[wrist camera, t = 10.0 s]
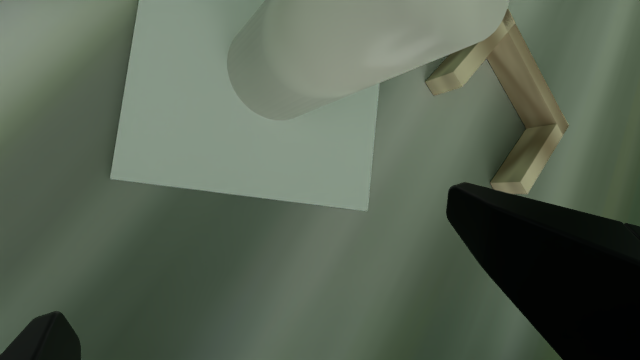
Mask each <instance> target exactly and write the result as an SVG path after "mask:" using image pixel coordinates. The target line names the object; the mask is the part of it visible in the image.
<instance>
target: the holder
mask: <svg viewBox="0 0 640 360" xmlns="http://www.w3.org/2000/svg"><path fill="white" fill-rule="evenodd" d="M486 58H487V60H488V62H489V63H490V65H491V67H492V69H493V70H494V72H495V74H496V76H497V78H498V79H499V81H500V83H501V85H502V86H503V88H504V90H505V92H506V93H507V95H508V97H509V99H510V101H511V102H512V104H513V106H514V108H515V109H516V111H517V113H518V115H519V116H520V118H521V120H522V122H523V123H524V125H525V127H526V130H525V131H524V133H523V134H522V136H521V137H520V139H519V140H518V142H517V143H516V145H515V146H514V148H513V149H512V151H511V152H510V154H509V155H508V157H507V158H506V160H505V161H504V163H503V164H502V166H501V167H500V169H499V170H498V172H497V173H496V175H495V176H494V178H493V179H492V181H491V182H490V184H491V186H492V187H493V189H494V190H498V191H502V192H506V193H510V194H528V192H529V191H530V189H531V187H532V186H533V184H534V182H535V181H536V179H537V177H538V176H539V174H540V173H541V171H542V169H543V168H544V166H545V164H546V163H547V161H548V159H549V158H550V156H551V154H552V153H553V151H554V149H555V148H556V146H557V144H558V143H559V141H560V139H561V138H562V136H563V134H564V133H565V131H566V130H567V128H568V126H569V125H568V123H567V121H566V119H565V117H564V115H563V114H562V112H561V110H560V108H559V106H558V105H557V103H556V101H555V99H554V97H553V95H552V93H551V91H550V89H549V87H548V85H547V83H546V81H545V80H544V78H543V76H542V74H541V72H540V70H539V68H538V66H537V64H536V62H535V60H534V58H533V56H532V55H531V53H530V51H529V49H528V47H527V45H526V43H525V41H524V39H523V37H522V35H521V33H520V31H519V30H518V28H517V26H516V24H515V21H514V19H513V17H512V15H511V13H510V11H509V9H507V11H506V13H505V16H504V18H503V20H502V22H501V24H500V25H499V26H498V28H497V29H496V31H495V32H494V33H493V34H491V35H490V36H489V37H488V38H486V39H485V40H483V41H481V42H479V43H476V44H474V45H471V46H469V47H466V48H464V49H461V50H459V51H457V52H454V53H452V54H450V55H449V56H448V57H447V58H446V59H445V60H444V61H443V62H442V64H441V65H440V66H439V67H438V68H437V69H436V70H435V71H434V72H433V74H432V75H431V76H430V77H429V78H428V79H427V80H426V81H425V83H426V84H427V86H428V87H429V89H430V90H431V92H432V94H433V95H438V94H441V93H444V92H448V91H451V90H454V89H457V88H461V87H463V86H464V85H465V83H466V82H467V81H468V80H469V79H470V77H471V76H472V75H473V74H474V72H475V71H476V70H477V69H478V68H479V66H480V65H481V64H482V63H483V62H484V60H485V59H486Z"/></svg>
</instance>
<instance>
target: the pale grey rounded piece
mask: <svg viewBox="0 0 640 360" xmlns="http://www.w3.org/2000/svg"><path fill="white" fill-rule="evenodd" d="M508 4H509V0H265V1H264V2H263V4H262V5H261V6H260V7H259V8H258V10H257V11H256V12H255V13H254V14H253V16H252V17H251V18H250V19H249V20H248V22H247V23H246V24H245V25H244V27H243V28H242V29H241V30H240V31H239V33H238V34H237V35H236V36H235V38H234V39H233V41H232V43H231V45H230V48H229V52H228V58H227V69H228V75H229V78H230V82H231V84H232V87H233V89H234V91H235V92H236V94H237V96H238V97H239V98H240V100H241V101H242V102H243V103H244V104H245V105H246V106H247V107H248V108H249V109H251V110H252V111H253V112H255V113H256V114H258V115H260V116H262V117H265V118H268V119H272V120H289V119H293V118H295V117H298V116H300V115H303V114H305V113H307V112H310V111H312V110H315V109H317V108H320V107H322V106H325V105H327V104H329V103H332V102H334V101H337V100H339V99H342V98H344V97H347V96H349V95H351V94H354V93H356V92H359V91H361V90H364V89H366V88H369V87H371V86H373V85H376V84H378V83H381V82H383V81H386V80H388V79H391V78H393V77H395V76H398V75H400V74H403V73H405V72H408V71H410V70H413V69H415V68H417V67H420V66H422V65H425V64H427V63H430V62H432V61H435V60H437V59H439V58H442V57H444V56H447V55H449V54H452V53H454V52H457V51H459V50H461V49H464V48H466V47H469V46H471V45H474V44H476V43H479V42H481V41H483V40H485V39H486V38H488V37H489V36H490V35H491V34H493V33H494V32H495V31H496V29H497V28H498V26H499V25H500V24H501V22H502V20H503V18H504V16H505V13H506V11H507V8H508Z"/></svg>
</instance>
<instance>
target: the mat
mask: <svg viewBox="0 0 640 360" xmlns="http://www.w3.org/2000/svg"><path fill="white" fill-rule="evenodd" d="M264 1H265V0H139V3H138V9H137V15H136V21H135V27H134V34H133V40H132V46H131V52H130V58H129V64H128V71H127V77H126V83H125V89H124V95H123V101H122V108H121V114H120V120H119V126H118V132H117V138H116V145H115V151H114V157H113V163H112V169H111V176H110V179H113V180H121V181H129V182H137V183H145V184H153V185H161V186H169V187H177V188H185V189H193V190H201V191H209V192H217V193H225V194H233V195H240V196H248V197H256V198H264V199H272V200H280V201H288V202H296V203H304V204H312V205H320V206H328V207H336V208H344V209H352V210H360V211H368V203H369V192H370V181H371V170H372V160H373V149H374V138H375V127H376V117H377V106H378V95H379V84H380V83H378V84H376V85H373V86H371V87H369V88H366V89H364V90H361V91H359V92H356V93H354V94H351V95H349V96H347V97H344V98H342V99H339V100H337V101H334V102H332V103H329V104H327V105H325V106H322V107H320V108H317V109H315V110H312V111H310V112H307V113H305V114H303V115H300V116H298V117H295V118H293V119H289V120H272V119H268V118H265V117H262V116H260V115H258V114H256V113H255V112H253V111H252V110H251V109H249V108H248V107H247V106H246V105H245V104H244V103H243V102H242V101H241V100H240V98H239V97H238V96H237V94H236V92H235V91H234V89H233V87H232V84H231V82H230V78H229V75H228V69H227V58H228V52H229V48H230V45H231V43H232V41H233V39H234V38H235V36H236V35H237V34H238V33H239V31H240V30H241V29H242V28H243V27H244V25H245V24H246V23H247V22H248V20H249V19H250V18H251V17H252V16H253V14H254V13H255V12H256V11H257V10H258V8H259V7H260V6H261V5H262V4H263V2H264Z"/></svg>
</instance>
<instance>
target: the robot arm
mask: <svg viewBox="0 0 640 360" xmlns="http://www.w3.org/2000/svg"><path fill="white" fill-rule="evenodd" d="M446 214H447V218H448V220H449V222H450V224H451V225H452V226H453V228H454V229H455V231H456V232H457V233H458V235H459V236H460V238H461V239H462V240H463V242H464V243H465V245H466V246H467V247H468V249H469V250H470V252H471V253H472V254H473V256H474V257H475V259H476V260H477V261H478V263H479V264H480V265H481V267H482V268H483V269H484V270H485V271H486V273H487V274H488V275H489V276H490V277H491V278H492V280H493V281H494V282H495V283H496V284H497V285H498V286H499V288H500V289H501V290H502V291H503V292H504V293H505V294H506V296H507V297H508V298H509V299H510V300H511V301H512V302H513V303H514V305H515V306H516V307H517V308H518V309H519V310H520V311H521V313H522V314H523V315H524V316H525V317H526V318H527V319H528V321H529V322H530V323H531V324H532V325H533V326H534V327H535V329H536V330H537V331H538V332H539V333H540V334H541V335H542V337H543V338H544V339H545V340H546V341H547V342H548V343H549V345H550V346H551V347H552V348H553V349H554V350H555V351H556V353H557V354H558V355H559V356H560V357H561V358H562V359H563V360H640V226H636V225H632V224H628V223H625V224H623V223H622V222H620V221H616V220H612V219H608V218H604V217H600V216H596V215H592V214H588V213H585V212H581V211H577V210H573V209H569V208H565V207H561V206H557V205H553V204H549V203H545V202H541V201H537V200H533V199H530V198H526V197H522V196H518V195H514V194H510V193H506V192H502V191H498V190H494V189H490V188H486V187H482V186H478V185H475V184H471V183H466V182H464V183H460V184H457V185H453V186H451V187H450V189H449V191H448V200H447V209H446ZM0 360H81V345H80V341H79V338H78V336H77V334H76V333H75V331H74V330H73V328H72V327H71V325H70V324H69V322H68V321H67V319H66V318H65V316H64V315H63V314H62V313H61V312H59V311H54V312H51V313H48V314H45V315H42V316H38V317H36V318H34V319H33V320H32V321H31V322H30V323H29V324H28V325H27V326H26V327H25V329H24V330H23V331H22V332H21V333H20V334H19V335H18V336H17V337H16V338H15V340H14V341H13V342H12V343H11V344H10V345H9V346H8V347H7V348H6V350H5V351H4V352H3V353H2V354H1V355H0Z"/></svg>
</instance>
